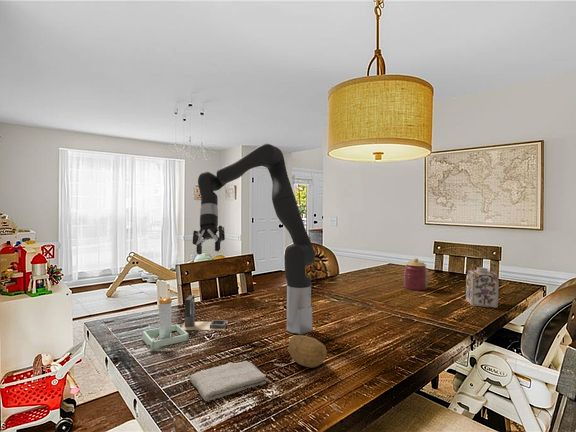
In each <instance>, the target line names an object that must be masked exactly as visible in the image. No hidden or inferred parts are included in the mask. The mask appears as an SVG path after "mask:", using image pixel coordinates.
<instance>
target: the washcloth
mask: <svg viewBox="0 0 576 432" xmlns="http://www.w3.org/2000/svg"><path fill="white" fill-rule="evenodd" d="M266 376H267V374H265V373H263V372H262V371H260V369H259V368H258V367H257V366H255V364H253V363H252V362H251V361H250V362H249V361H248V360H243V361H240V362H230V361H229V362H227V363H226V364H222V365H219V366H214V367H210V368H207V369H203V370H199V371H196V372H194V373H193V374H192V375H191V376H190V377H189V381H190V383H191V384H192V385H193V387H194V388H196V389H197V391H198V394H199V395H200V397H201V398H202V399H203V400H204V402H210V401H211V400H213V401H214V400H217V399H219V398H223V397H226V396H229V395H233V394H235V393H238V392H241V391H245V389H246V390H248V389H252V388H254V387H257V386H258V385H259V386H262V385H265V384H267V380H266V379H267V378H266ZM251 387H252V388H251ZM247 388H248V389H247Z"/></svg>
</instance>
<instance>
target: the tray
mask: <svg viewBox="0 0 576 432" xmlns="http://www.w3.org/2000/svg"><path fill="white" fill-rule="evenodd" d="M174 331H176V332H177V334H179V335H175V336H171V338H166V339H161V340H159V339H158V340H154V339H155V338H156V337H158V336H159V327H156V328H155V327H154V328H152V329H151V328H150V329H146V330H142V339H141V340H142V341H144V343H145V344H146V346H148V345H149V346H148V348H149V349H150V351H151V352H155V351H159V350H164V349H168V348H170V347H169V346H168V345H173V344H178V343H182V342H186V341H189V340H190V334H189V333H188V332H187V330H183V329H182V328H181V326H180V325H179V324H178V323H175V324H171V332H174Z"/></svg>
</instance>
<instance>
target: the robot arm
mask: <svg viewBox="0 0 576 432" xmlns="http://www.w3.org/2000/svg"><path fill="white" fill-rule="evenodd" d="M258 167H265V169H267V171H268V174H269V175H270V178H271V182H272V188H271V189H272V190H271V202H272V205H273V208H274V211H275V214H276V217H277V218H278V220H279V222H280V223H281V224H282V225H283V226H284V227H285V229H286V230H287V232H288V233H289V235H290V237H291V240H292V243H293V244H292V243H291V244H290V245H288V246H287V248H286V249H285V251H284V258H283V259H284V277H285V279H286V331H287V332H289V333H291V334H297V335H305V334H307V333H310V332H312V331H313V306H312V304H311V303H312V301H311V299H312V279H311V277H310V276H307V274H306V267H309V266H311V265H313V263H314V262H315V259H316V251H315V248H314V246H313V244H312V242H311V239H310V237H309V235H308V232H307V229H306V227H305V225H304V221H303V217H302V216H301V213H300V209H299V205H298V202H297V199H296V196H295V193H294V191H293V187H292V184H291V182H290V178H289V175H288V171H287V166H286V161H285V157H284V154H283V152H282V150H281V149H280V148H279V147H277V146H275V145H273V144H270V143H263V144H260V145H259V146H257V147H255V148H254V149H253V150H251V151H250V152H248V153H246V155H244V156H242V157H240V158H239V159H237V160H235V161H233V162H231V163H229V164H227V165H224V166H222V167H220V168H218V169H217V170H216V175H215V174H214V173H212V172H210V171H208V170H207V171H202V172H201V173H200V174H199V176H198V178H197V184H198V185H197V186H198V190H199V194H200V211H199V230H193V231H192V232H193V233H192V234H193V235H192V243H191V244H192V245H195V246H196V248H195V249H196V253H197V254H198V255H202V253H203V244H204V242H205V241H207V240H211V239H213V240H214V251H215V252H220V250H221V242H223V241H225V239H226V238H225V236H226V235H225V234H226V233H225V227H224V226H222V225H219V208H218V206H219V205H218V203H219V201H218V194H216V193H215V192H216V191H220V190H221V189H222V188H223V187H225V185H227V184H228V183H230V182H233V181H236V180H237V179H239V178H241V177H242V176H243V175H245V173H247V172H248V171H249V170H251V169H254V168H258ZM217 233H218V234H217Z"/></svg>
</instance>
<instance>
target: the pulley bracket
mask: <svg viewBox="0 0 576 432" xmlns="http://www.w3.org/2000/svg"><path fill="white" fill-rule="evenodd" d="M195 303H196V302H195V295H188V297H186V298H185V300H184V322H183V324H181V326H180V327H181V328H182V329H183V330H184V331H224V330H225V329H226V326H227V324H228V321H227V319H225V320H224V319H217V320H216V319H212V320H211V321H195V317H196V315H195V314H196V310H195V308H196V306H195V305H196V304H195Z"/></svg>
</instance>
